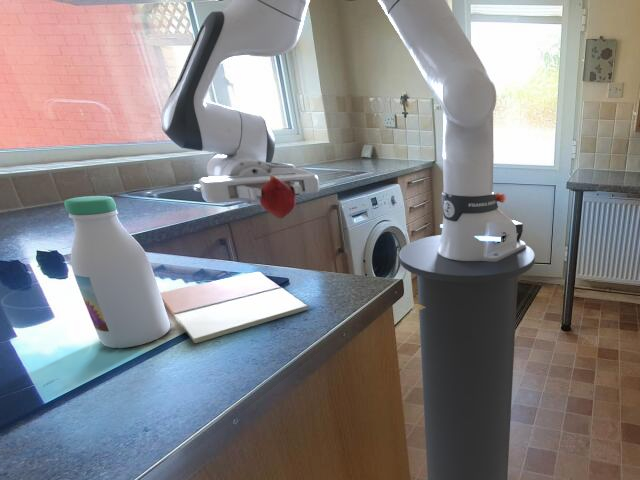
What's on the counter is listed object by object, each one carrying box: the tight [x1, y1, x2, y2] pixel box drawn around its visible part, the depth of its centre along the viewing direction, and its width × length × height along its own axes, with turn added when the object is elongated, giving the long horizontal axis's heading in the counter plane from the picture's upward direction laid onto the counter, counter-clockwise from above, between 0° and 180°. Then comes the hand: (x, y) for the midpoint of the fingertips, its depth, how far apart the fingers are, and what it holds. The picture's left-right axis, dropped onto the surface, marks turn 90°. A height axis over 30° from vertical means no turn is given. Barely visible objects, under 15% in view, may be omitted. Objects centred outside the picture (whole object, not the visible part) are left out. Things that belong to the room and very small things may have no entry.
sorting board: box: [160, 271, 309, 344], centre depth 70 cm, size 16×22×1 cm
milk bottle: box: [63, 195, 171, 349], centre depth 56 cm, size 8×8×20 cm
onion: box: [260, 175, 297, 220], centre depth 76 cm, size 6×6×8 cm
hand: (278, 192), depth 75 cm, fingers closed on onion, 5 cm apart
